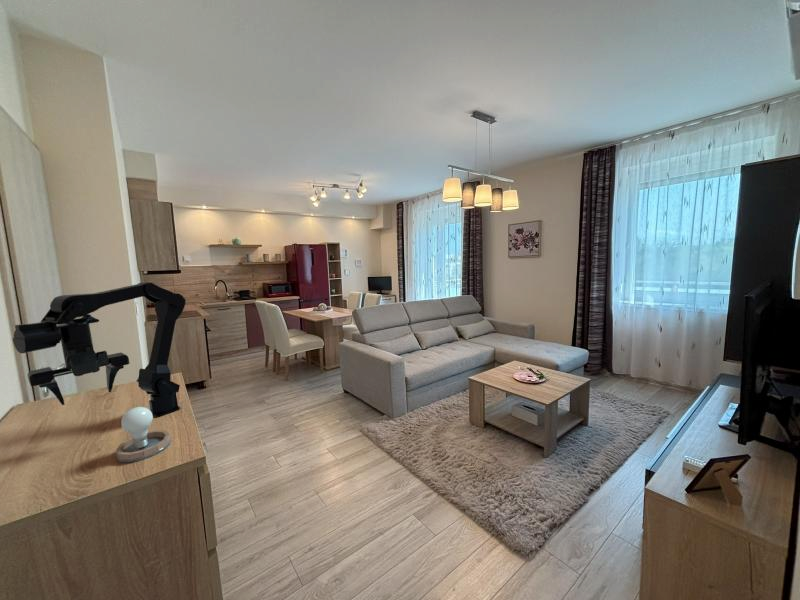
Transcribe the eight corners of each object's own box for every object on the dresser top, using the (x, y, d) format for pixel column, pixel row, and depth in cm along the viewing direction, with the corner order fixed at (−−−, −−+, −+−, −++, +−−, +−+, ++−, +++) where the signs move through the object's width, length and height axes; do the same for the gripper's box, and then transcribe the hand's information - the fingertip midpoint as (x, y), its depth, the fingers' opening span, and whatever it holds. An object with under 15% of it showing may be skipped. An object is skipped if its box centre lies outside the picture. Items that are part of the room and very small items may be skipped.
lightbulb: (137, 456, 80) (130, 415, 79) (120, 452, 82) (112, 412, 80) (163, 442, 86) (156, 403, 85) (146, 438, 88) (139, 401, 86)
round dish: (162, 432, 92) (161, 425, 92) (177, 445, 86) (176, 438, 85) (111, 452, 83) (110, 445, 83) (123, 468, 77) (122, 460, 76)
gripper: (26, 356, 72) (39, 421, 74) (130, 338, 87) (139, 392, 89) (22, 349, 79) (34, 408, 81) (119, 333, 94) (127, 383, 96)
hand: (87, 397), depth 87 cm, fingers open, 9 cm apart
